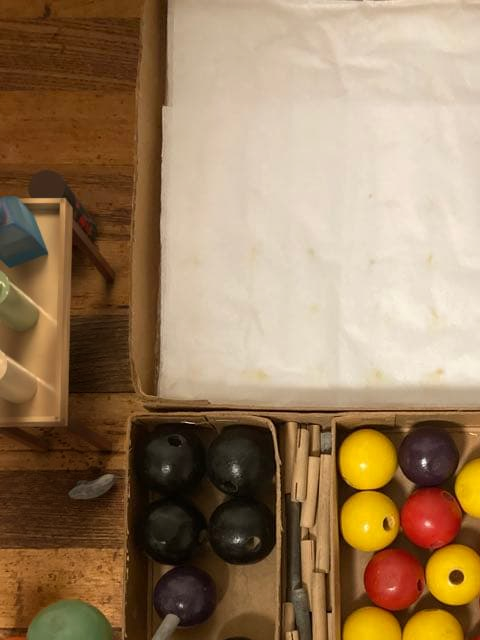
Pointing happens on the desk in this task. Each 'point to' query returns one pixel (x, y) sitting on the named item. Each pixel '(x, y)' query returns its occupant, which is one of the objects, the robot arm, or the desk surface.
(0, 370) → the cream bottle
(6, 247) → the perfume bottle
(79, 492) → the fossil
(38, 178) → the deodorant
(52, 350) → the tray stand
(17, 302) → the sage bottle
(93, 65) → the desk surface
